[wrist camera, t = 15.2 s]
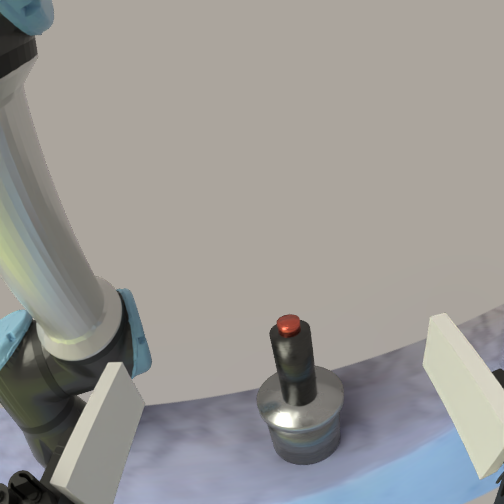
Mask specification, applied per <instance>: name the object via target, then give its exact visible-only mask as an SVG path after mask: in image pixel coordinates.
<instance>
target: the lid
mask: <svg viewBox="0 0 504 504" xmlns="http://www.w3.org/2000/svg"><path fill="white" fill-rule="evenodd" d="M270 339H271V344H272V349H273V354H274V358H275V363H276V368H277V373H275V374H274V375H272V376H271V377H269V378H268V379H267V380H266V381H265V382H264V383H263V384H262V386H261V387H260V389H259V391H258V394H257V406H258V409H259V413H260V415H261V417H262V419H263V420H264V421H265V422H266V423H267V424H268V425H269V426H270V427H272V428H274V429H276V430H278V431H281V432H285V433H292V434H299V433H307V432H312V431H315V430H318V429H320V428H322V427H324V426H326V425H327V424H329V423H330V422H331V421H332V420H333V419H335V418H336V416H337V415H338V414H339V412H340V411H341V409H342V406H343V402H344V389H343V385H342V382H341V380H340V379H339V378H338V376H337V375H335V374H334V373H333V372H331V371H330V370H328V369H325V368H322V367H319V366H315V365H314V356H313V347H312V340H311V331H310V326H309V324H308V323H307V322H305V321H302V320H300V319H299V317H298V316H296V315H284V316H282V317H280V318H279V319H278V320H277V324H276V325H275V326H273V327H272V328H271V330H270Z"/></svg>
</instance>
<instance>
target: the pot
mask: <svg viewBox="0 0 504 504" xmlns="http://www.w3.org/2000/svg"><path fill="white" fill-rule="evenodd" d="M268 428H269V431H270V435H271V438H272V442H273V445H274V449H275V451H276V452H277V454H278V455H279V456H280V457H281V458H282V459H284V460H285V461H287V462H290V463H293V464H298V465H308V464H314V463H317V462H320V461H322V460H324V459H326V458H327V457H329V456H330V455H331V454H332V453H333V452H334V451H335V450H336V448H337V446H338V444H339V441H340V412H339V414H338V415H337V416H336V418H335V419H333V420H332V421H331V422H330V423H329V424H327V425H326V426H324V427H322V428H320V429H318V430H315V431H312V432H307V433H299V434H292V433H285V432H281V431H278V430H276V429H274V428H272V427H270V426H269V425H268Z"/></svg>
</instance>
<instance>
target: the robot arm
mask: <svg viewBox="0 0 504 504" xmlns="http://www.w3.org/2000/svg"><path fill="white" fill-rule="evenodd" d="M53 20H54V9H53V5H52V0H0V277H1V279H2V280H3V281H4V283H5V284H6V285H7V286H8V288H9V289H10V290H11V292H12V293H13V294H14V295H15V296H16V298H17V299H18V300H19V302H20V303H21V304H22V305H23V306H24V308H25V309H26V310H18V311H15V312H13V313H11V314H9V315H7V316H5V317H4V318H2V319H1V320H0V403H1V404H2V406H3V407H4V408H5V410H6V411H7V412H8V413H9V415H10V416H11V417H12V419H13V420H14V421H15V422H16V423H17V425H18V426H19V427H20V428H21V430H22V431H23V433H24V435H25V438H26V440H27V442H28V445H29V447H30V449H31V451H32V453H33V455H34V457H35V459H36V460H37V461H38V462H39V463H40V464H41V465H42V466H43V467H44V468H45V471H44V474H43V476H42V478H41V480H40V482H39V481H38V480H37V479H36V478H35V477H34V476H33V475H32V474H31V473H29V472H28V471H24V470H22V471H18V472H16V473H15V474H13V476H12V477H11V478H10V480H9V483H8V487H7V486H5V485H4V484H2V483H0V504H113V502H114V499H115V496H116V492H117V489H118V486H119V482H120V479H121V476H122V473H123V470H124V466H125V463H126V460H127V457H128V454H129V451H130V448H131V445H132V442H133V439H134V436H135V433H136V430H137V427H138V424H139V421H140V418H141V415H142V412H143V409H144V406H145V402H144V401H143V399H142V397H141V395H140V394H139V392H138V390H137V388H136V387H135V385H134V383H133V381H132V379H133V378H134V377H135V376H137V375H139V374H142V373H144V372H146V371H148V370H149V369H150V367H151V364H152V359H151V354H150V351H149V347H148V344H147V341H146V338H145V334H144V331H143V327H142V323H141V320H140V317H139V314H138V310H137V307H136V304H135V301H134V298H133V295H132V293H131V291H130V290H128V289H117V290H116V289H115V288H114V287H113V286H112V285H111V284H110V283H109V282H108V281H106V280H105V279H103V278H100V277H98V276H95V275H94V273H93V272H92V270H91V268H90V266H89V263H88V262H87V259H86V257H85V255H84V253H83V251H82V249H81V247H80V245H79V243H78V241H77V238H76V236H75V234H74V232H73V229H72V227H71V225H70V223H69V220H68V218H67V216H66V213H65V211H64V208H63V206H62V204H61V201H60V199H59V196H58V194H57V191H56V189H55V186H54V183H53V181H52V178H51V175H50V173H49V170H48V167H47V164H46V161H45V159H44V156H43V153H42V150H41V147H40V144H39V140H38V137H37V134H36V131H35V127H34V124H33V121H32V117H31V114H30V110H29V106H28V103H27V99H26V95H25V91H24V82H25V80H26V78H27V77H28V75H29V73H30V71H31V69H32V67H33V66H34V64H35V62H36V60H37V59H38V53H37V47H36V41H35V35H42V33H43V31H46V30H47V29H49V28H50V27H51V25H52V24H53ZM32 318H34V319H35V320H33V319H32ZM422 365H423V367H424V369H425V370H426V372H427V374H428V376H429V378H430V379H431V381H432V383H433V385H434V387H435V389H436V390H437V392H438V394H439V396H440V398H441V400H442V402H443V404H444V406H445V407H446V409H447V411H448V413H449V415H450V417H451V419H452V421H453V423H454V425H455V427H456V429H457V431H458V433H459V435H460V437H461V439H462V441H463V444H464V446H465V448H466V450H467V452H468V454H469V456H470V459H471V461H472V463H473V465H474V467H475V470H476V472H477V474H478V476H479V479H480V480H481V479H483V478H485V477H487V476H489V475H491V474H493V473H495V472H497V471H498V469H499V468H500V467H501V465H502V464H503V463H504V371H503V370H502V369H498V370H495V371H493V372H491V371H490V370H489V368H488V367H487V365H486V364H485V363H484V361H483V360H482V359H481V357H480V356H479V355H478V353H477V352H476V351H475V349H474V348H473V347H472V345H471V344H470V343H469V342H468V340H467V339H466V338H465V337H464V335H463V334H462V333H461V331H460V330H459V329H458V328H457V326H456V325H455V324H454V323H453V322H452V320H451V319H450V318H449V317H448V315H447V314H446V313H442V314H438V315H434V316H431V317H430V321H429V328H428V335H427V341H426V347H425V353H424V359H423V364H422ZM91 390H93V393H92V394H91V396H90V398H89V400H88V402H87V403H86V402H85V401H83V400H82V399H81V398H79V397H78V396H77V395H79V394H82V393H85V392H88V391H91ZM501 480H502V481H501ZM500 481H501V484H500V487H499V490H498V493H497V497H496V499H495V502H494V504H504V472H503V473H502V474H501V475H500V477H499V478H498V479H497V481H496V483H497V484H498V483H499V482H500Z"/></svg>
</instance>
